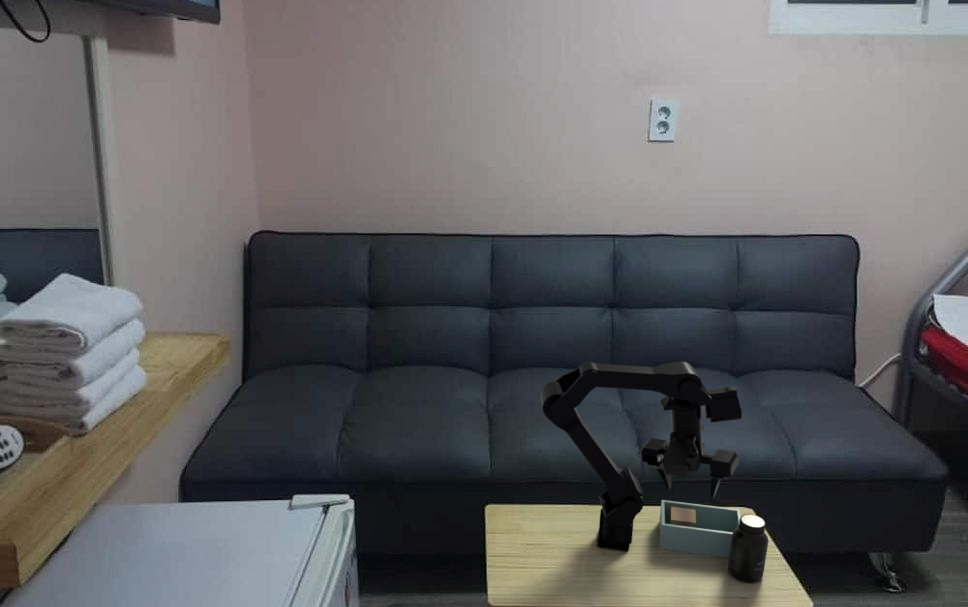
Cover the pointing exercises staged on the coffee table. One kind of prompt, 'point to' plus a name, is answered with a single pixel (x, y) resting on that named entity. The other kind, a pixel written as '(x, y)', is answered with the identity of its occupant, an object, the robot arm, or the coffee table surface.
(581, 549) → the coffee table surface
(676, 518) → the walnut cube
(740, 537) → the supplement bottle
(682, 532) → the tote
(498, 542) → the coffee table surface
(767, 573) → the coffee table surface
